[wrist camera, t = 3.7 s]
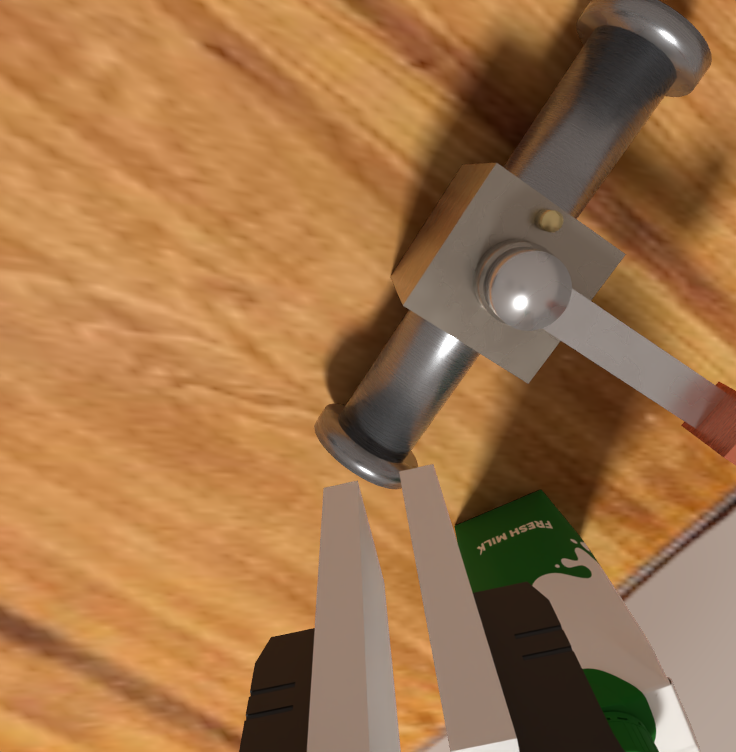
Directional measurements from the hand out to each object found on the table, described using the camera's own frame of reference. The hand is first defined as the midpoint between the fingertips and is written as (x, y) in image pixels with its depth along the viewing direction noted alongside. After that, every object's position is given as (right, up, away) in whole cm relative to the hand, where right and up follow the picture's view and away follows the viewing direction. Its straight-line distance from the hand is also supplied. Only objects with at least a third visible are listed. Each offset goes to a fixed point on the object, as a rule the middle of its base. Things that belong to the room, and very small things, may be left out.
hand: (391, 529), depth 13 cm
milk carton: (+11, -9, +32) cm, 35 cm away
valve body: (+6, +11, +24) cm, 28 cm away
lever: (+12, +5, +16) cm, 21 cm away
